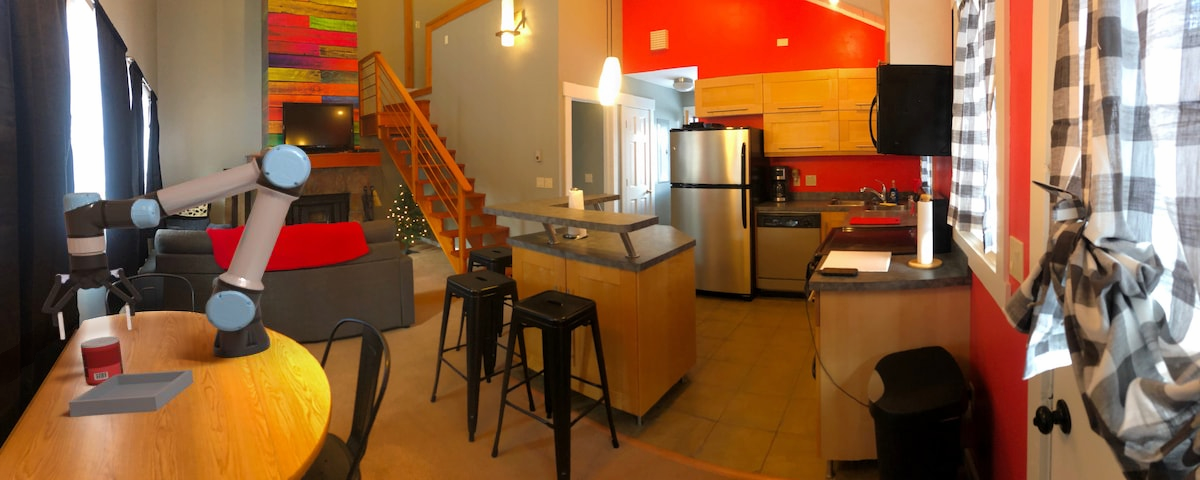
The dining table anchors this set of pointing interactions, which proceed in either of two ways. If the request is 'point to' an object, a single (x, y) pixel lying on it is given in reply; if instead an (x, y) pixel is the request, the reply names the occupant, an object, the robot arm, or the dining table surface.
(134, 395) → the tray
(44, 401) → the dining table surface
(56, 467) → the dining table surface
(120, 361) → the canned food
